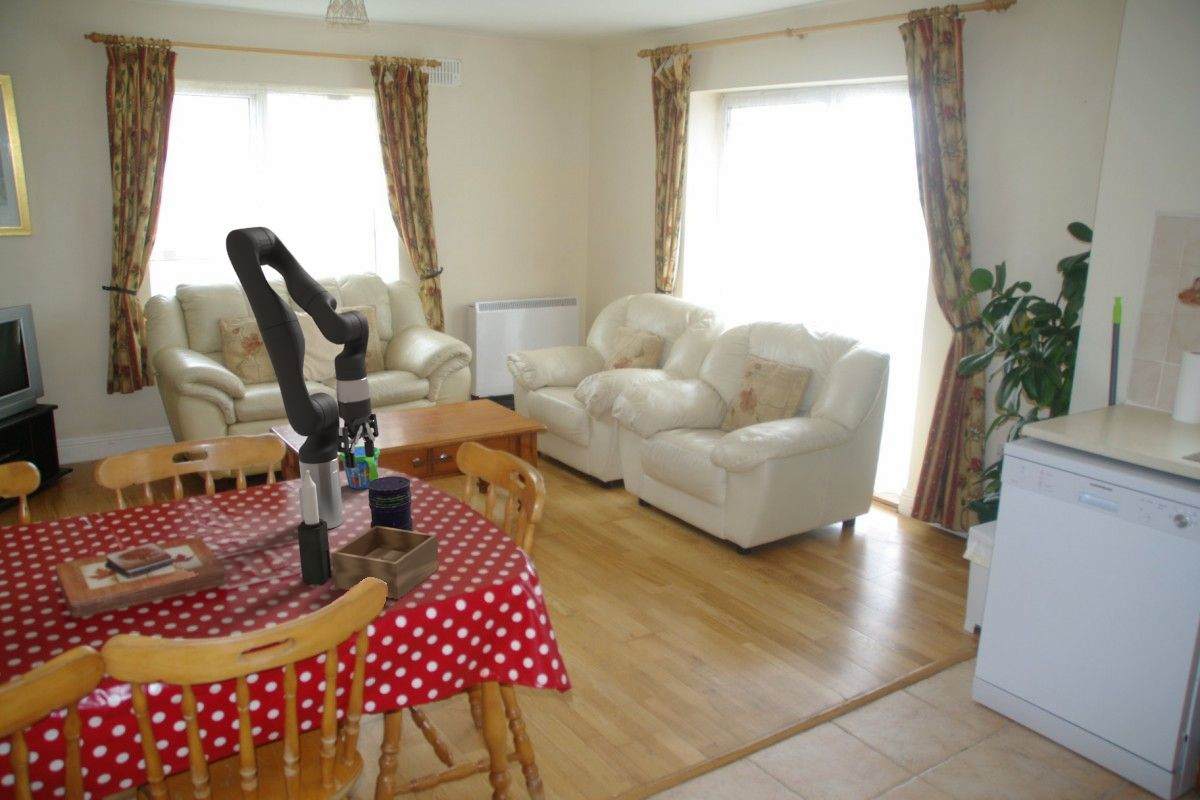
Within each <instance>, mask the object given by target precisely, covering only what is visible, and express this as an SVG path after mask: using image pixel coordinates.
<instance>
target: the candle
mask: <svg viewBox="0 0 1200 800" xmlns="http://www.w3.org/2000/svg"><path fill="white" fill-rule="evenodd" d="M305 473H306V476H305V480H304V483H303V484H302V485H301V487H300V488H302V499H303V509H304V520H303V522H302V521H300V525H298V526H297V528H296V529H297V530H296V531H297V539H298V549H299V559H300V567H301V579H302V580H301V581H302V583H303V584H304V585H313V586H322V585H324V584H325V583H326V582H327V581H328V580H329V579H332V578H333V575H332V574H333V572H332V564H331V563H332V561H331V554H330V541H329V529H328V528H327V522H326V521H323V519H320V518H319V514H318V503H317V492H316V485H315V483H314V482H313V481H312V479H311V477H310V475H309V471H308V470H307V471H306V472H305Z"/></svg>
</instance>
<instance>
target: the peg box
mask: <svg viewBox="0 0 1200 800" xmlns="http://www.w3.org/2000/svg"><path fill="white" fill-rule="evenodd" d="M330 556H331V563H332V564H331V567H332V574H333V575H332V578H333V587H334V589H340V590H345V591H349V590H348V589H350V588H351V587H353V586H354V585H356V584H358V583H359V582H360V581H362V580H363V579H365V578H367V577H375V578H378V579H381V580H383V581H384V582H386V583H387V586H388V599H391V598H394V599H393V600H397V599H398V600H397V601H399V600H400V599H402V598H403V597H404V596H406V595H407V594H408V593H409V592H411V591H412V590H413V589H414V588H416V587H417V586H418V585H420V584H421V583H422V582H423V581H425V580H426V579H428V578H429V577H430V576H432V575H433V574H435V572H437V571H438V570H439V569H440V566H439V565H440V564H439V561H440V560H439V545H438V534H437V535H436V534H432V533H426V532H425V533H424V532H419V531H407V530H401V529H395V528H388V527H382V526H374V527H373V528H371V527H370V529H367V530H366V531H365V532H363V533H361V534H359V535H358V536H357V537H355V538H353V539H352V540H350V541H348V542H346V543H345V544H344V545H342V546H340V547H338V548H337V549H335V550H334V551H332V552H331V554H330ZM436 570H437V571H436ZM432 573H433V574H432ZM428 576H429V577H428ZM415 586H416V587H415ZM410 590H411V591H410ZM401 597H402V598H401Z"/></svg>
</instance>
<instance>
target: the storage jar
mask: <svg viewBox="0 0 1200 800" xmlns="http://www.w3.org/2000/svg"><path fill="white" fill-rule="evenodd" d="M367 489H368V495H367V496H368V497H367V498H368V507H369V509H370V514H371V516H370V517H371V521H370V529H371V528H373V527H374V526H382V527H388V528H395V529H401V530H407V531H414V519H413V517H412V509H411V506H412V500H413V499H412V490H411V481H410V479H409V478H407V477H404V476H397V475H396V476H392V475H391V476H383V477H379V478H377V479H375V480H372V481H371V482H369V484H368V488H367ZM414 532H415V531H414Z"/></svg>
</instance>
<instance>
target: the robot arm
mask: <svg viewBox="0 0 1200 800" xmlns="http://www.w3.org/2000/svg"><path fill="white" fill-rule="evenodd" d="M225 249H226V253H227V257H228V259H229V262H230V263H231V266H232V268H233V270H234V272H235V274H236V276H237V278H238V280H239V283H240V284H241V287H242V289H243V291H244V294H245V296H246V298H247V300H248V303H249V305H250V308H251V310H252V313H253V316H254V319H255V322H256V323H257V328H258V331H259V333H260V335H261V339H262V341H263V344H264V347H265V350H266V351H267V354H268V357H269V360H270V363H271V365H272V369H273V371H274V375H275V377H276V380H277V383H278V387H279V391H280V395H281V398H282V403H283V407H284V411H285V414H286V417H287V420H288V423H289V425H290V427H291V429H292V431H294V432H295V433H296V434H297V435H299V436H301V437H306V439H305V441H304V442H303V443H302V445H300V447H299V449H298V463H299V464H298V465H299V472H300V483H301V486H302V484H303V483H304V480H305V476H306V473H305V472H306V471H307V470H308V471H309V475H310V477H311V479H312V481H313V482H314V483H315V485H316V492H317V503H318V514H319V518H320V519H323V521H326V522H327V528H328V530H329V529H333V528H336V527H339V526H341V525H342V524H343V523H344V513H343V512H344V511H343V500H342V499H343V497H342V490H341V489H342V488H341V487H342V486H341V477H340V476H341V475H340V464H339V454H340V453H344V455H345V464H346V467H347V468H355V467H356V463H355V454H354V453H353V452H354V449H355V447H356V446H357V445H358V444H359V442H360V441H359V440H360V439H363V441H364V442H363V446H364V447H365V455H366V457H374V456H375V450H374V447H375V444H374V443H375V441H376V438H378V437H379V435H380V434H379V425H378V420H377V415H376V413H373V412H372V401H371V394H370V393H371V391H370V384H369V380H368V373H367V363H366V356H367V352H368V346H369V344H368V342H369V338H370V337H369V336H370V327H369V322H368V320H367V318H366V317H365V315H364V314H363V313H362V312H360V311H358V310H349V311H345V312H340V313H339V312H336V310H337V308H338V301H337V299H336V297H334V295H332V294H331V293H330V292H329V291H328V290H327V289H326V288H325V287H324V286H322V285H321V284H320V283H319V282H318V281H317V280H315V279H314V278H313V277H312V276H311V275H310V273H308V272H307V270H305V268H304V267H303V266H302V265H301V263H300V261H298V259H296V258H295V256H294V255H293V253H292V252H291V251H290V250H289V249H288V248H287V246H286V245H285V244H284V242H283V241H282V240H281V239H280V238H279V237H278V235H277V234H276V233H275V232H273V231H272V230H271V229H270V228H268V227H265V226H252V227H244V228H238V229H237V228H236V229H233V230H231V231H229V233H228V234H227V235H226V238H225ZM262 266H268V267H270V268H272V269H273V270H275V271H276V272H277V273H278V274H279V275H281V276H282V278H283V280H284V284H285V285H286V289H287V292H288V294H289V296H290V298H291V299H292V300H293V302H294V303H295V304H296V305H297V306H298V307H299V308H301V310H302V311H304V312H305V313H306V314H307V315H308V316H309V317H311V319H312V320H313V322H314V324H315V325H316V327H317V328H318V330H319V332H320V333H321V335H322V336H323V337H324V338H325V340H327V341H328V342H330V343H331V344H335V345H337V346H338V345H343V349H342V351H341V352H340V353H338V354H337V355H336V356H335V357H334V361H333V363H334V373H335V379H336V380H335V381H336V386H335V387H336V389H335V390H336V391H335V392H336V399H337V400H336V401H337V402H336V401H335V399H334V398H333V396H332V395H330V394H328V393H326V392H323V391H322V392H315V393H313V394H310V392H309V390H308V387H307V385H306V381H305V377H304V375H305V374H304V362H305V354H306V339H305V335H304V333H303V330H302V327H301V324H300V321H299V318H298V317H297V314H296V312H295V310H293V308H292V307H291V305H289V304H288V303H287V302H286V301H285V300H284V299H283V297H282V296H280V295H279V294H278V292H276V291H275V290H274V289H273V288H272V287H271V285H270V283H269V281H268V279H267V278H266V276H265V273H264V270H263V268H262ZM340 419H342V420H343V423H344V424H343V426H342V427H341V425H340V422H341V421H340ZM342 443H343V444H342ZM298 496H299V508H300V516H301V517H300V519H301V520H300V521H301V522H303V520H304V509H303V499H302V488H301V487H300V488H299V489H298Z"/></svg>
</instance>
